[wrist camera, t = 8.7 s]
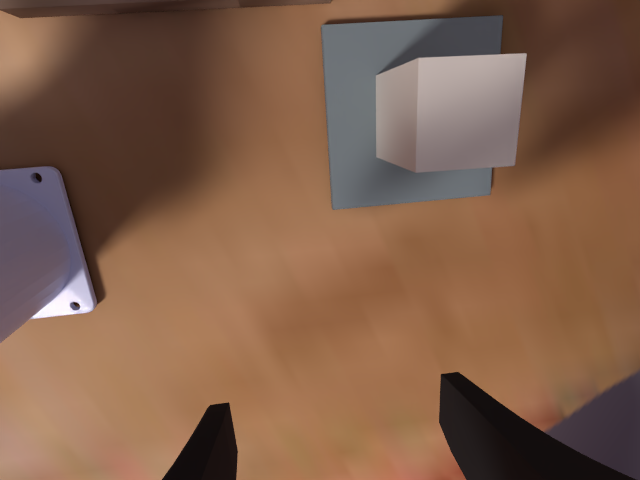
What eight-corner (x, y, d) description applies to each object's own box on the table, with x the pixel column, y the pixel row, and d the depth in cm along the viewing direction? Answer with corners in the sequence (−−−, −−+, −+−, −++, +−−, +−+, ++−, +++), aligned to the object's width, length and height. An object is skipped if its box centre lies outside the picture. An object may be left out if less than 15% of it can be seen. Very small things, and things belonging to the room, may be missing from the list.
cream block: (376, 157, 20) (415, 172, 15) (375, 75, 19) (418, 57, 13) (448, 152, 21) (514, 165, 15) (452, 71, 19) (526, 53, 14)
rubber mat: (331, 207, 21) (333, 209, 21) (321, 27, 19) (322, 24, 18) (485, 193, 22) (490, 195, 22) (497, 17, 19) (502, 15, 19)
